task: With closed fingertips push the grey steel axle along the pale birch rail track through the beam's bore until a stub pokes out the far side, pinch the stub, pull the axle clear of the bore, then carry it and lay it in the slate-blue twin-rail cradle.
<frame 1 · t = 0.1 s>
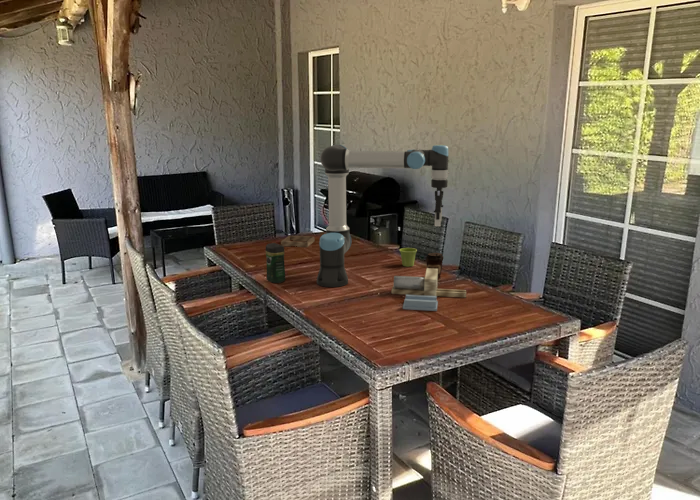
hand: (438, 223, 267), 28 cm above the table, fingers open, 13 cm apart
v block: (420, 306, 236), on the table
plant pot: (407, 265, 300), on the table
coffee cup: (434, 280, 273), on the table
can corral: (298, 243, 353), on the table
coffee jar: (276, 281, 274), on the table
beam: (430, 294, 251), on the table
axle: (415, 283, 252), point 5 cm above the table, touching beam
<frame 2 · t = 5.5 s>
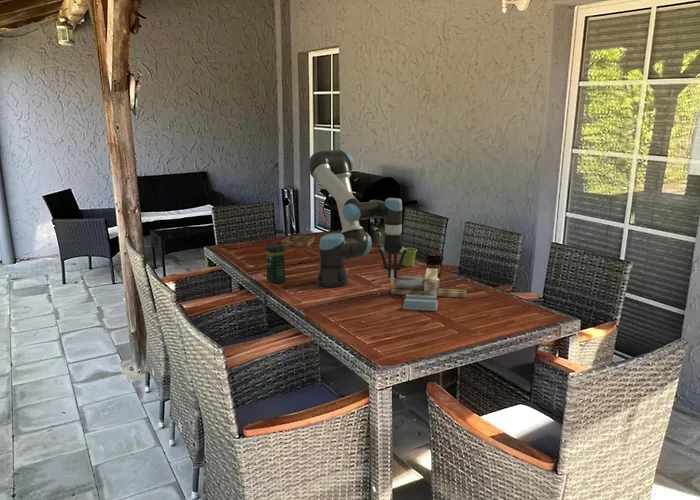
hand: (392, 284, 253), 4 cm above the table, fingers closed
axle: (417, 283, 251), point 5 cm above the table, touching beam, gripper
everything else where it was.
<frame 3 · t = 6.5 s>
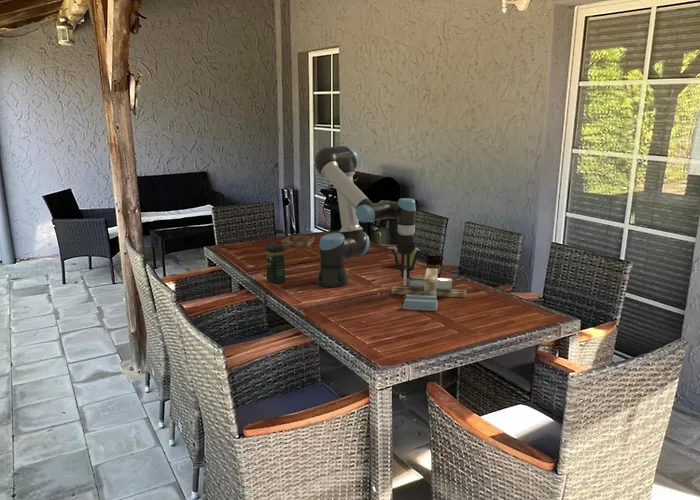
hand: (405, 284, 252), 4 cm above the table, fingers closed
axle: (430, 284, 250), point 5 cm above the table, touching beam, gripper
everything else where it was.
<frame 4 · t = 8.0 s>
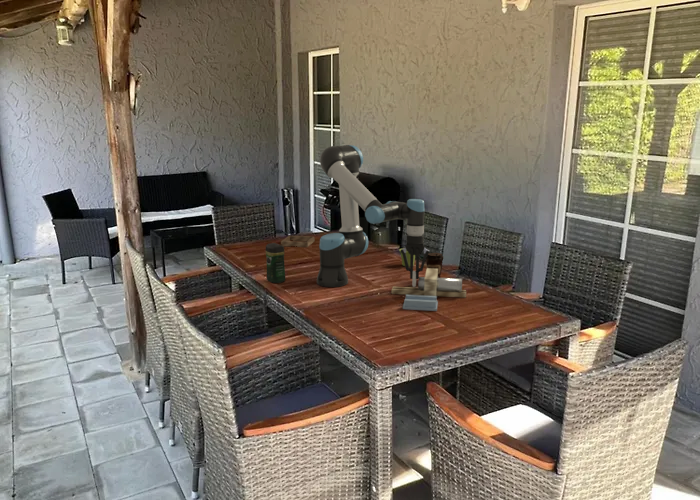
hand: (414, 285, 252), 4 cm above the table, fingers closed
axle: (440, 284, 250), point 5 cm above the table, touching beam, gripper
everything else where it was.
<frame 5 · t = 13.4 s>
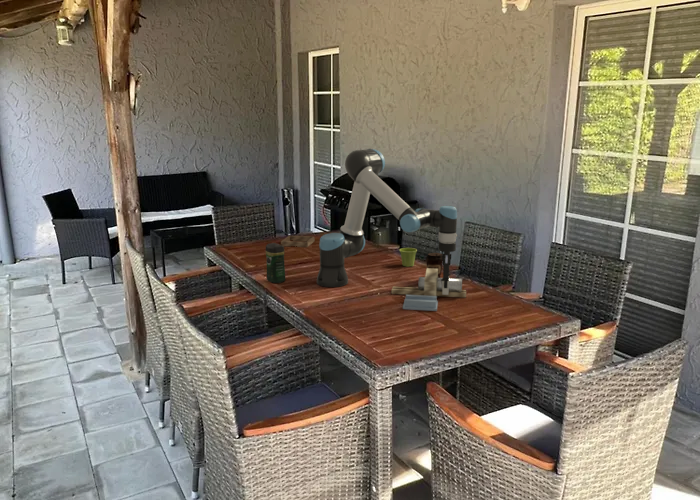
hand: (445, 292, 250), 1 cm above the table, fingers closed on axle, 6 cm apart
axle: (440, 284, 250), point 5 cm above the table, touching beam, gripper
everything else where it was.
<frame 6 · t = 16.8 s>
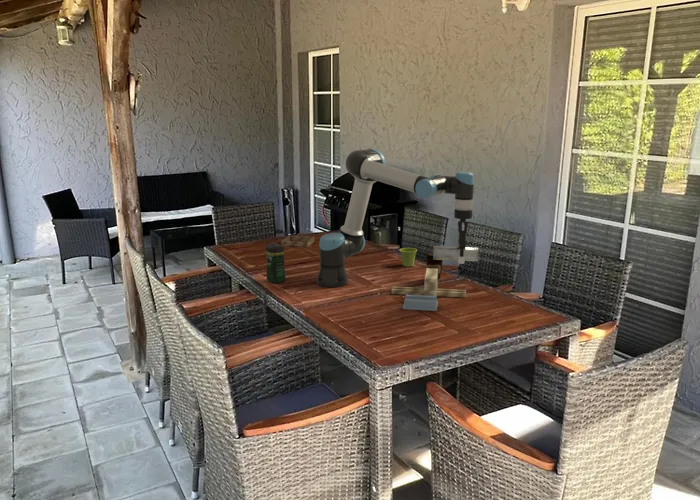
hand: (460, 261, 243), 16 cm above the table, fingers closed on axle, 6 cm apart
axle: (455, 253, 243), point 20 cm above the table, touching gripper
everything else where it was.
when the fingers open (4 cm above the table, at t = 20.5 s): axle drops 2 cm, resting on v block.
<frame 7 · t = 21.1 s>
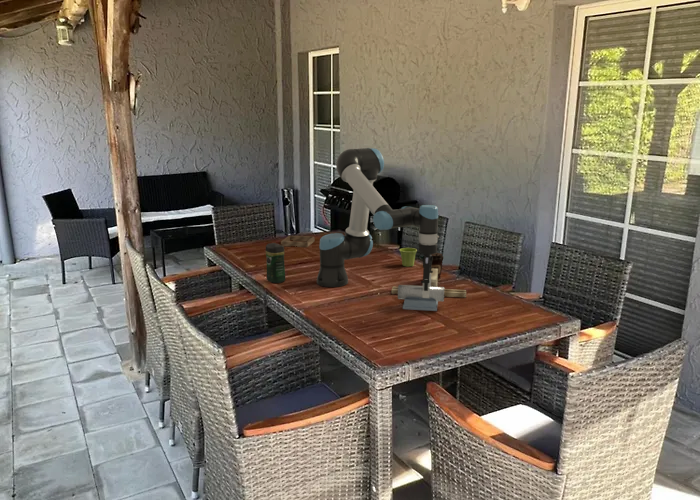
hand: (426, 292, 234), 6 cm above the table, fingers open, 13 cm apart
axle: (421, 293, 235), point 6 cm above the table, touching v block
everything else where it was.
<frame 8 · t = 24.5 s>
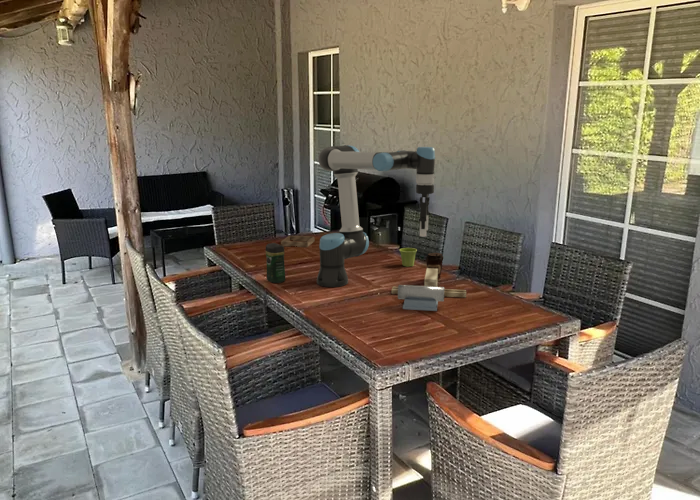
hand: (423, 233, 242), 29 cm above the table, fingers open, 13 cm apart
nothing on the table moved.
at the end: axle inside the target area on the v block (0.1 cm from its centre), point 5.7 cm above the v block's base; the gripper is holding nothing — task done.
